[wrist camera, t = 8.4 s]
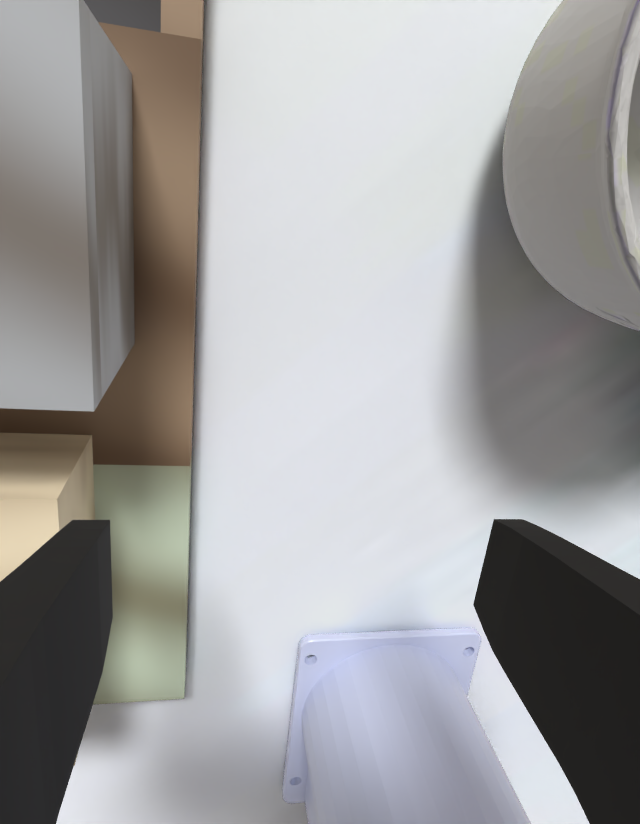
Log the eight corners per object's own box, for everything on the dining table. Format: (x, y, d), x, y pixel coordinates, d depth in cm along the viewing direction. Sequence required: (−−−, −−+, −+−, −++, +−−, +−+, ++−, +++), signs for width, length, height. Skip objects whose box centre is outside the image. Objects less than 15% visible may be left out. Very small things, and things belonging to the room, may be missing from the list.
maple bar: (101, 662, 20) (74, 765, 16) (-20, 667, 19) (-76, 778, 16) (91, 435, 17) (57, 498, 13) (-52, 431, 16) (-131, 497, 13)
